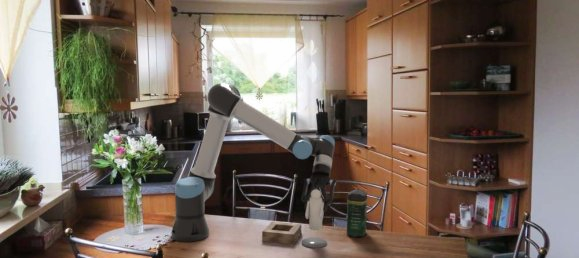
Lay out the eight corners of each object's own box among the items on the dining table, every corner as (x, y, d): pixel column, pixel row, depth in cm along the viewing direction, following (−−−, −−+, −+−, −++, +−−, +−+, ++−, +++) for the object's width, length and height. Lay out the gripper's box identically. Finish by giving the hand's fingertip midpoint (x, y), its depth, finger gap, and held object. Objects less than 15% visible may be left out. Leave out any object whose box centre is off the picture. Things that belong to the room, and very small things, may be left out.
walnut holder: (262, 241, 165) (262, 231, 165) (272, 230, 178) (272, 221, 177) (293, 244, 162) (293, 234, 162) (301, 233, 174) (301, 224, 174)
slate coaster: (298, 246, 160) (298, 244, 160) (304, 237, 169) (304, 236, 169) (324, 249, 157) (324, 247, 157) (328, 240, 167) (328, 238, 167)
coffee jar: (364, 238, 169) (365, 194, 167) (345, 236, 172) (345, 192, 170) (367, 231, 178) (368, 188, 176) (349, 229, 181) (350, 187, 179)
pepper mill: (308, 229, 161) (308, 190, 160) (310, 225, 166) (311, 187, 164) (320, 230, 160) (321, 191, 158) (323, 226, 165) (323, 188, 163)
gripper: (344, 174, 173) (338, 224, 159) (302, 171, 178) (292, 220, 164) (342, 163, 168) (336, 215, 154) (299, 161, 173) (289, 211, 158)
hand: (313, 217), depth 159 cm, fingers closed on pepper mill, 5 cm apart
